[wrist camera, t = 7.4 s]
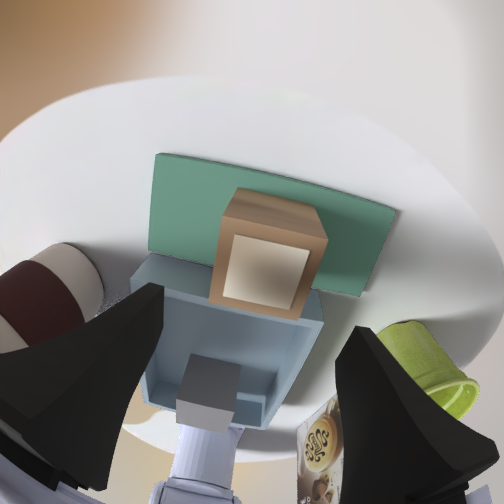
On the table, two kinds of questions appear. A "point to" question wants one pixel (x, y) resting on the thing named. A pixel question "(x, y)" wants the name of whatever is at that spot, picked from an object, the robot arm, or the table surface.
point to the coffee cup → (47, 297)
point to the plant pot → (430, 367)
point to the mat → (230, 177)
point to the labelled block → (267, 254)
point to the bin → (223, 341)
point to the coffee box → (320, 456)
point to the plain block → (208, 394)
